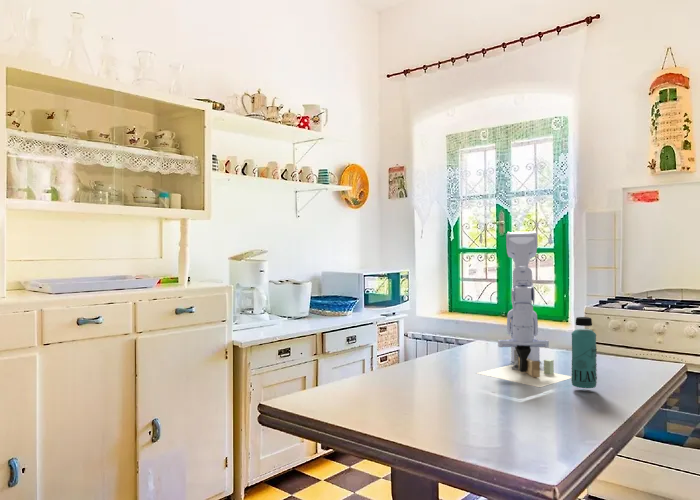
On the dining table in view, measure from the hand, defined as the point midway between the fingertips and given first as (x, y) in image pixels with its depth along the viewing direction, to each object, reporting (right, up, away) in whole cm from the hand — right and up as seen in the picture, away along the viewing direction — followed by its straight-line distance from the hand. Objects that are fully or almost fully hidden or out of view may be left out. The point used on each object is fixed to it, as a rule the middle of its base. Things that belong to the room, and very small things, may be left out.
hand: (523, 371), depth 165 cm
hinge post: (+1, -2, +7) cm, 8 cm away
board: (0, -2, -1) cm, 2 cm away
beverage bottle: (+11, -2, -16) cm, 20 cm away
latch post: (+8, -2, +1) cm, 8 cm away
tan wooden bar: (+2, -1, 0) cm, 2 cm away
